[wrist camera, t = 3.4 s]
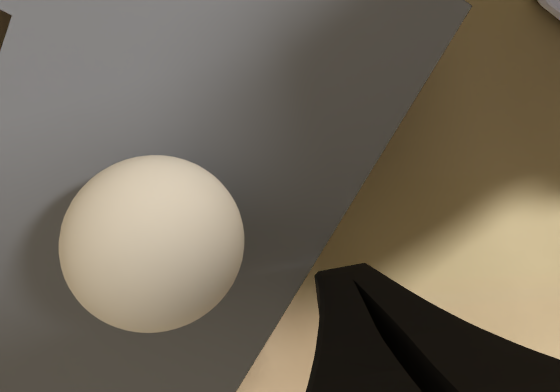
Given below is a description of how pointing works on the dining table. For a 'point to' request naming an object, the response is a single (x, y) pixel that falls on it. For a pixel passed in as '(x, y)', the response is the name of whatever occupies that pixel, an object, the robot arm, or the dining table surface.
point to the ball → (151, 243)
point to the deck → (192, 158)
